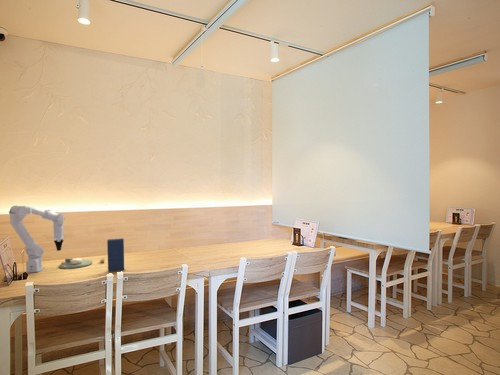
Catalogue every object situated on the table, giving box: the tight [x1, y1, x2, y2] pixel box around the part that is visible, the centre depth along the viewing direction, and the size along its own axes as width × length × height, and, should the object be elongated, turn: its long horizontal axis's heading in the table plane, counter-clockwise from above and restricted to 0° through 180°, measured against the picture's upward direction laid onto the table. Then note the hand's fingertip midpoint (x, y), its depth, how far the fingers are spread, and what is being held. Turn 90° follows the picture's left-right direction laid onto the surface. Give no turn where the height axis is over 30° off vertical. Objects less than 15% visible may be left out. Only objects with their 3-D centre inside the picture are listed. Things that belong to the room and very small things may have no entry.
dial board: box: [58, 259, 93, 270], centre depth 220 cm, size 20×20×2 cm
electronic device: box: [106, 237, 125, 273], centre depth 204 cm, size 10×5×20 cm, turn 109°
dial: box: [64, 257, 83, 264], centre depth 220 cm, size 11×7×3 cm, turn 85°
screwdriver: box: [100, 257, 105, 264], centre depth 229 cm, size 12×2×2 cm, turn 20°
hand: (58, 250), depth 221 cm, fingers closed
